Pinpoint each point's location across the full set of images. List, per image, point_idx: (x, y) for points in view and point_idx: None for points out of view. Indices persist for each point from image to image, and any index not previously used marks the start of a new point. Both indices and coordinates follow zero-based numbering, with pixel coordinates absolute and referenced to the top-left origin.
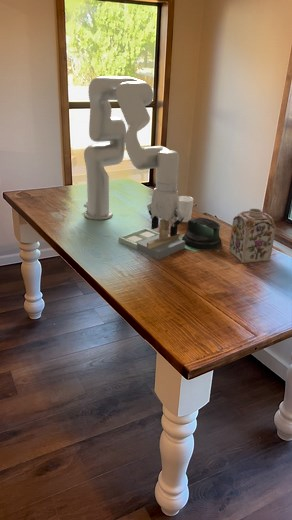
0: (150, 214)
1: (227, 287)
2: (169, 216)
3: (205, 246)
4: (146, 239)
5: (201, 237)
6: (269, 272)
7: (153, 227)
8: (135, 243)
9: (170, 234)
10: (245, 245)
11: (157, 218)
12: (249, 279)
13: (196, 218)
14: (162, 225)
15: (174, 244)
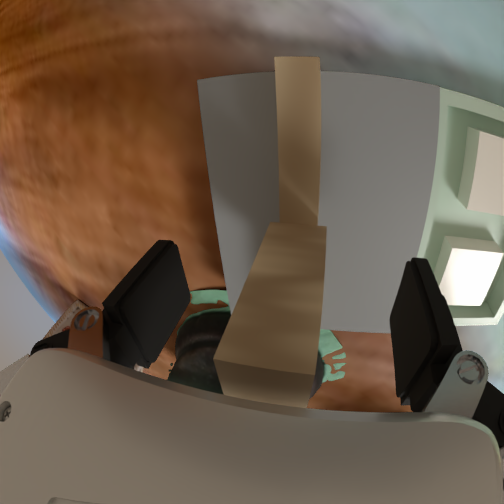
0: (495, 397)
1: (2, 163)
2: (13, 385)
3: (182, 332)
4: (429, 190)
5: (202, 366)
6: (42, 291)
7: (410, 276)
8: (456, 102)
9: (160, 247)
10: (45, 336)
11: (405, 391)
12: (21, 236)
13: None
14: (268, 313)
15: (230, 252)
